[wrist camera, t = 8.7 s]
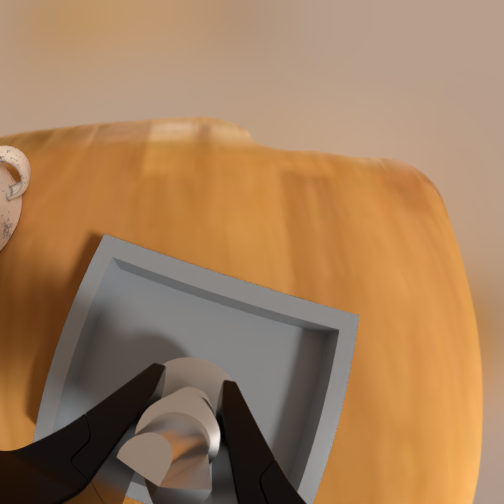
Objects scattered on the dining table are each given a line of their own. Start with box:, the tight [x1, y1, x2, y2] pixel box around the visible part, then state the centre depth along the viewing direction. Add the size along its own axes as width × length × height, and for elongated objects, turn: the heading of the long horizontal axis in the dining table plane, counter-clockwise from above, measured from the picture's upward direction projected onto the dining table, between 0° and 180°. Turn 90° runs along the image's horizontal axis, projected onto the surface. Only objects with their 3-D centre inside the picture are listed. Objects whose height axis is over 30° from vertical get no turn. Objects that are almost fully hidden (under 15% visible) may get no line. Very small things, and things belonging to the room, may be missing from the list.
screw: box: [117, 357, 232, 504], centre depth 8 cm, size 13×5×5 cm
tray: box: [33, 234, 359, 504], centre depth 14 cm, size 16×14×2 cm
